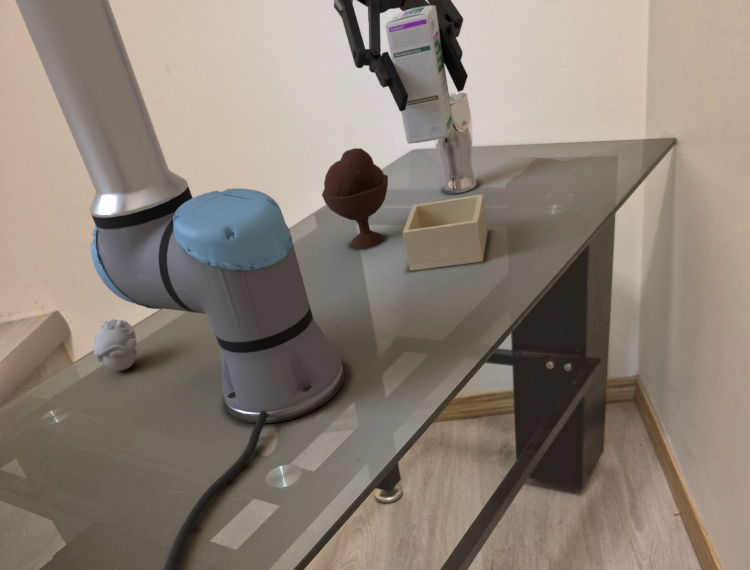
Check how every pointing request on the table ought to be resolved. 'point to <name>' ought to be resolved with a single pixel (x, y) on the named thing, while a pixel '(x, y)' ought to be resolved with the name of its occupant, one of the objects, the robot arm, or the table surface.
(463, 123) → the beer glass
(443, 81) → the syrup box
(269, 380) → the robot arm
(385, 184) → the ice cream bowl
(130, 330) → the frog figurine
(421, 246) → the basket
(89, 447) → the table surface
